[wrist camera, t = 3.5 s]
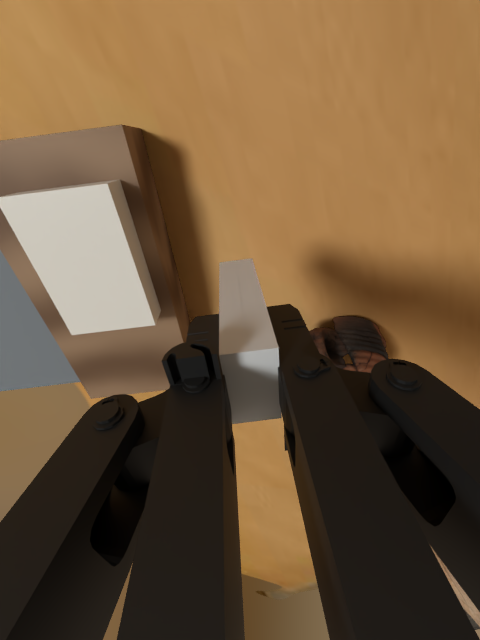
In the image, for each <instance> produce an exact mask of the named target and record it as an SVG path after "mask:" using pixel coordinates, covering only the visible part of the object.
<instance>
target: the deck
mask: <svg viewBox="0 0 480 640" xmlns="http://www.w3.org/2000/svg"><path fill="white" fill-rule="evenodd" d="M112 180H120V182H121V185H122V188H123V191H124V194H125V198H126V201H127V204H128V207H129V210H130V214H131V217H132V220H133V223H134V226H135V229H136V233H137V236H138V239H139V242H140V245H141V248H142V252H143V255H144V258H145V261H146V264H147V267H148V271H149V274H150V277H151V280H152V283H153V287H154V290H155V293H156V296H157V299H158V302H159V306H160V309H161V312H160V315H159V317H158V320H157V323H156V325H153V326H145V327H136V328H128V329H120V330H111V331H103V332H95V333H86V334H78V335H71V333H70V331H69V329H68V328H67V326H66V324H65V322H64V320H63V319H62V317H61V315H60V313H59V312H58V310H57V308H56V306H55V304H54V303H53V301H52V299H51V297H50V295H49V294H48V292H47V290H46V288H45V287H44V285H43V283H42V281H41V279H40V278H39V276H38V274H37V272H36V271H35V269H34V267H33V265H32V263H31V262H30V260H29V258H28V256H27V254H26V253H25V251H24V249H23V247H22V246H21V244H20V242H19V240H18V238H17V237H16V235H15V233H14V231H13V229H12V228H11V226H10V224H9V222H8V221H7V219H6V217H5V215H4V213H3V212H2V210H1V208H0V250H1V252H2V253H3V255H4V257H5V258H6V260H7V262H8V263H9V265H10V266H11V268H12V270H13V271H14V273H15V275H16V276H17V278H18V280H19V281H20V283H21V285H22V286H23V288H24V289H25V291H26V293H27V294H28V296H29V298H30V299H31V301H32V303H33V304H34V306H35V307H36V309H37V311H38V312H39V314H40V316H41V317H42V319H43V321H44V322H45V324H46V326H47V327H48V329H49V330H50V332H51V334H52V335H53V337H54V339H55V340H56V342H57V344H58V345H59V347H60V348H61V350H62V352H63V353H64V355H65V357H66V358H67V360H68V362H69V363H70V365H71V367H72V368H73V370H74V371H75V373H76V375H77V376H78V378H79V380H80V381H81V383H82V385H83V386H84V388H85V389H86V391H87V393H88V394H89V396H90V398H91V399H92V398H100V397H109V396H112V395H119V394H135V393H144V392H152V391H161V390H168V389H169V388H170V384H169V381H168V379H167V376H166V373H165V370H164V367H163V364H162V362H161V361H162V359H163V357H164V355H165V354H166V353H167V352H168V351H169V350H170V349H171V348H173V347H175V346H177V345H179V344H181V343H184V342H186V338H187V333H188V327H189V324H190V320H189V316H188V312H187V308H186V304H185V300H184V296H183V292H182V288H181V284H180V280H179V276H178V273H177V269H176V265H175V261H174V257H173V253H172V249H171V245H170V241H169V237H168V233H167V229H166V225H165V221H164V217H163V213H162V209H161V205H160V201H159V197H158V194H157V190H156V186H155V182H154V178H153V174H152V170H151V166H150V162H149V158H148V154H147V150H146V146H145V142H144V138H143V134H142V130H141V129H140V128H135V127H130V126H126V125H116V126H108V127H101V128H93V129H86V130H78V131H70V132H63V133H55V134H48V135H40V136H33V137H25V138H17V139H10V140H2V141H0V197H1V196H6V195H10V194H15V193H19V192H27V191H34V190H42V189H50V188H58V187H65V186H73V185H81V184H89V183H97V182H104V181H112Z"/></svg>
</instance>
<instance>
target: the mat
mask: <svg viewBox="0 0 480 640" xmlns="http://www.w3.org/2000/svg"><path fill="white" fill-rule="evenodd" d="M74 382H81V381H80V380H79V378H78V376H77V375H76V373H75V371H74V370H73V368H72V367H71V365H70V363H69V362H68V360H67V358H66V357H65V355H64V353H63V352H62V350H61V348H60V347H59V345H58V344H57V342H56V340H55V339H54V337H53V335H52V334H51V332H50V330H49V329H48V327H47V326H46V324H45V322H44V321H43V319H42V317H41V316H40V314H39V312H38V311H37V309H36V307H35V306H34V304H33V303H32V301H31V299H30V298H29V296H28V294H27V293H26V291H25V289H24V288H23V286H22V285H21V283H20V281H19V280H18V278H17V276H16V275H15V273H14V271H13V270H12V268H11V266H10V265H9V263H8V262H7V260H6V258H5V257H4V255H3V253H2V252H1V250H0V391H6V390H14V389H22V388H31V387H40V386H47V385H48V386H49V385H57V384H65V383H74Z"/></svg>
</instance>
